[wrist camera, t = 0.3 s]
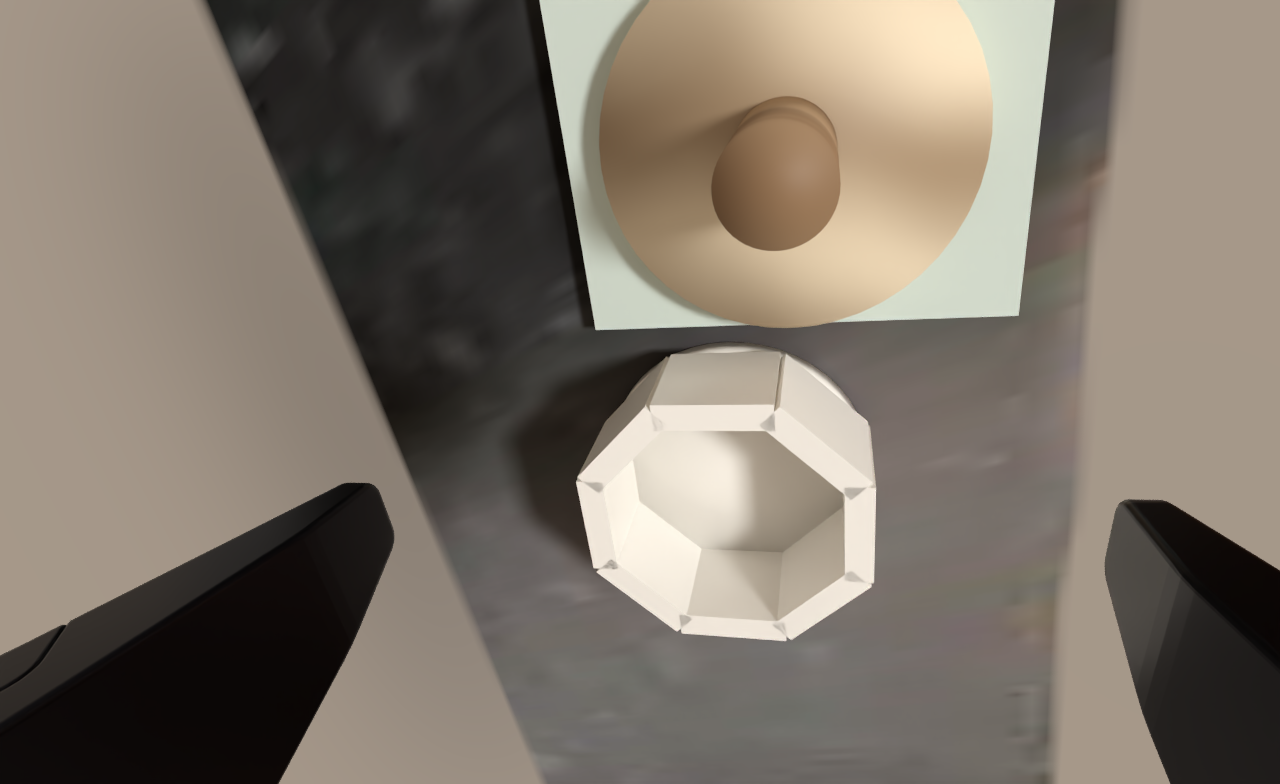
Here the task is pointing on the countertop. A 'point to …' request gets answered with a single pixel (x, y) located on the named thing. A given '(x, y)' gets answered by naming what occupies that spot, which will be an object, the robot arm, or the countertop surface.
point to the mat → (949, 288)
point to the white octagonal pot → (733, 494)
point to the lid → (794, 149)
